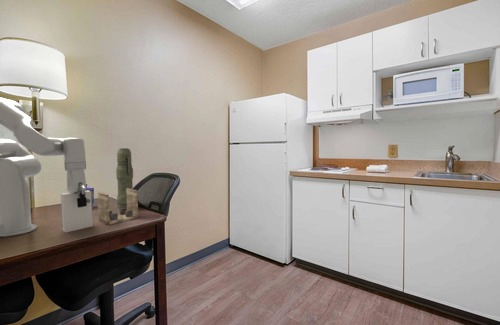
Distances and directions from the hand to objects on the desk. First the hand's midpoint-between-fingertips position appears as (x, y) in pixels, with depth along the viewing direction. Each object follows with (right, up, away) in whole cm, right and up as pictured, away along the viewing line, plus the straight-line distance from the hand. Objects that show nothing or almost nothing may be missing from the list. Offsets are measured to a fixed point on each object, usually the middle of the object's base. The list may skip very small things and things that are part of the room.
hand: (78, 205), depth 104 cm
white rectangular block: (-1, -10, 0) cm, 10 cm away
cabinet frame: (+10, -9, +14) cm, 19 cm away
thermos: (+1, -8, +38) cm, 39 cm away
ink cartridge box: (-21, -8, +33) cm, 41 cm away
